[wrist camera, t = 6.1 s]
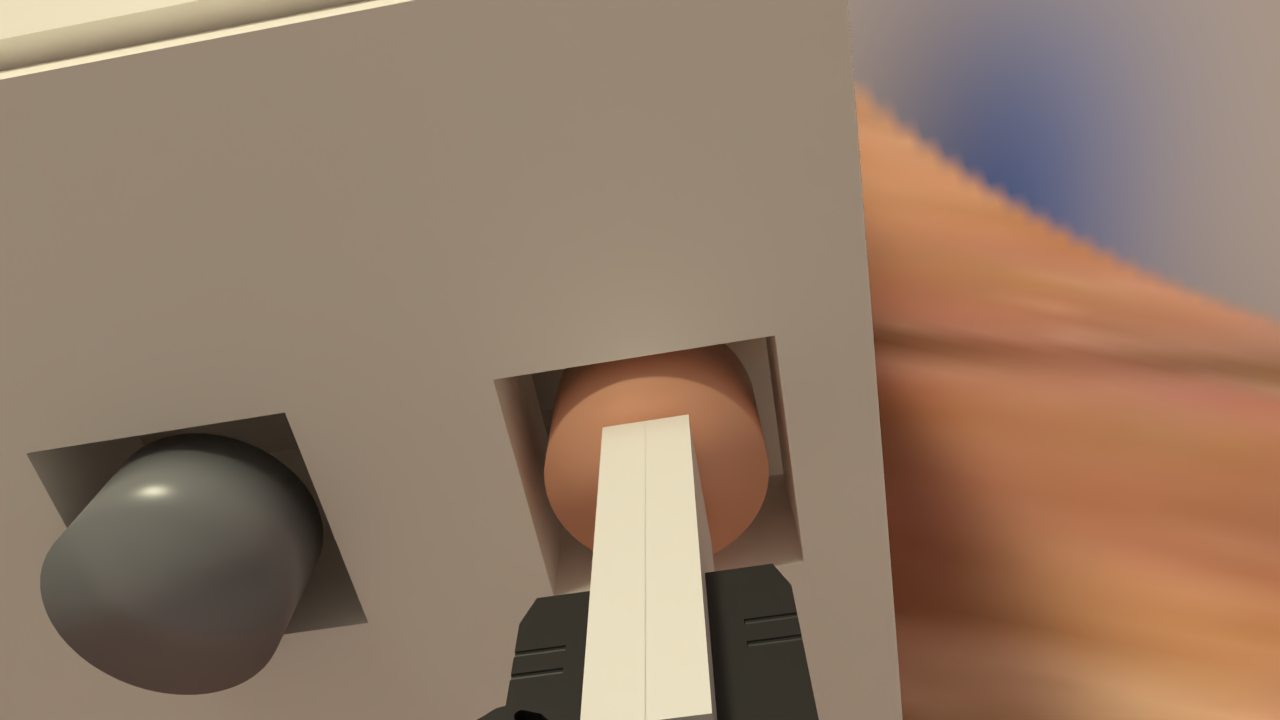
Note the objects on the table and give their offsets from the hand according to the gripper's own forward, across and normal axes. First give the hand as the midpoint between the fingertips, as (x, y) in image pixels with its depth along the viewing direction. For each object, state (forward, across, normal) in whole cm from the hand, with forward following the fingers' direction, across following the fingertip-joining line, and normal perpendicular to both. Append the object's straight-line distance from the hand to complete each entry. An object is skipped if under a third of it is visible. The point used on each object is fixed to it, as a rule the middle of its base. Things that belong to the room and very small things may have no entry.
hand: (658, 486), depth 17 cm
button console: (+9, -8, -6) cm, 14 cm away
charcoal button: (+1, -9, -2) cm, 9 cm away
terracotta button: (+3, 0, -2) cm, 3 cm away
